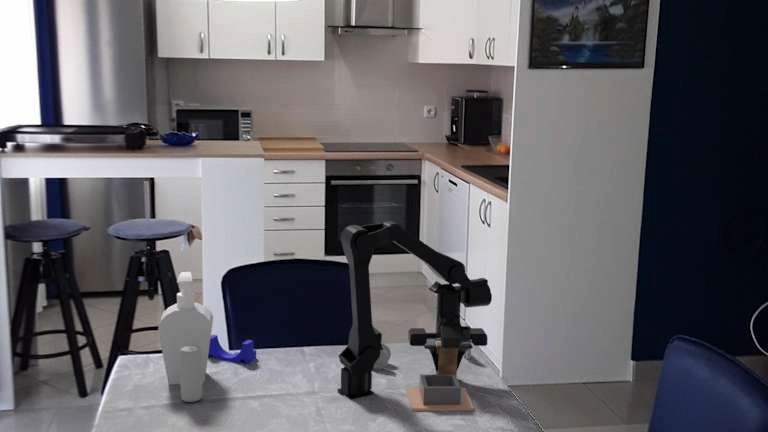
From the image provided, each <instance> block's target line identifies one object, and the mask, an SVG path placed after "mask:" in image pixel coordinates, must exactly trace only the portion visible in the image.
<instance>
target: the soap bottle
mask: <svg viewBox="0 0 768 432" xmlns="http://www.w3.org/2000/svg"><path fill="white" fill-rule="evenodd" d="M192 276H193V275H192V272H191V271H182V272H180V273H179V275H178V277H177V279H176V283H177V284H180V289H181V290H180V292H177V293H176V303H174V304H172V305H171V306H168V307H167V308H166V310H164V311H163V312H162V314H161V315H162V316H161V319H160V320H159V325H158V327H157V331H158V338H159V341H160V348H161V353H162V357H163V362H164V366H165V372H166V374H165V375H166V378H167V382H168V385H170V386H171V385H181V384H180V348H181V347H183V346H186V345H197V346H200V347H201V351H202V384H205V381H206V373H207V368H208V367H207V366H208V360H209V358H208V353H209V346H210V338H211V335H212V330H213V324H214V323H213V322H214V316H213V312H212V311H211V310H210V309H209V307H208V308H207V306H206V305H203V304H201V303H199V302H195V298H196V297H195V292H192V291H191V284H193V277H192Z"/></svg>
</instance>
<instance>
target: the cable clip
mask: <svg viewBox="0 0 768 432" xmlns="http://www.w3.org/2000/svg"><path fill="white" fill-rule="evenodd" d="M218 336H219V335H218V334H211V338H210V346H209V353H208V359H209V358H210V357H212V358H213V359H215V360H221V361H226V362H232V363H237V364H241V363H243V362H245V363H244V365H249V364H250V363H252V362H253V361H255V360H257V349H254V340H250V339H247V340H245V341H243V342H242V343H241V348H240V351H239V352H234V353H229V352H228V351H226V349H224V348H223V347H222V346H221V343H220V342H219V337H218Z"/></svg>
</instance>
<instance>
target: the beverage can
mask: <svg viewBox="0 0 768 432" xmlns="http://www.w3.org/2000/svg"><path fill="white" fill-rule="evenodd" d="M179 385H180V399H181V400H182V401H183V402H185V403H194V402H198V401H200V400H201V399H202V397H203V383H202V351H201V347H200V346H197V345H186V346H183V347H181V348H180V384H179Z"/></svg>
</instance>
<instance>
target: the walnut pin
mask: <svg viewBox="0 0 768 432" xmlns="http://www.w3.org/2000/svg"><path fill="white" fill-rule="evenodd" d="M436 346H437V359H438V371H436V370H435V375H446V374H455V375H456V377H458V376H457V373H458V370H457V350H458V348H455V347H453V348H443V347H442V346H441V341H440V342H438V341H437V342H436Z"/></svg>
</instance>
